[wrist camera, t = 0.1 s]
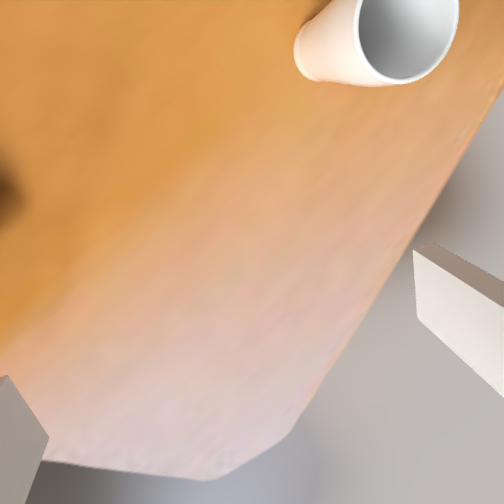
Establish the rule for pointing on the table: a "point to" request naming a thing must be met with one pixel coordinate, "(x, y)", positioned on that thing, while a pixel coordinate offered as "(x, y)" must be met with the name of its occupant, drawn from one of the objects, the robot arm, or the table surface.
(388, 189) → the table surface
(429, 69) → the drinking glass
